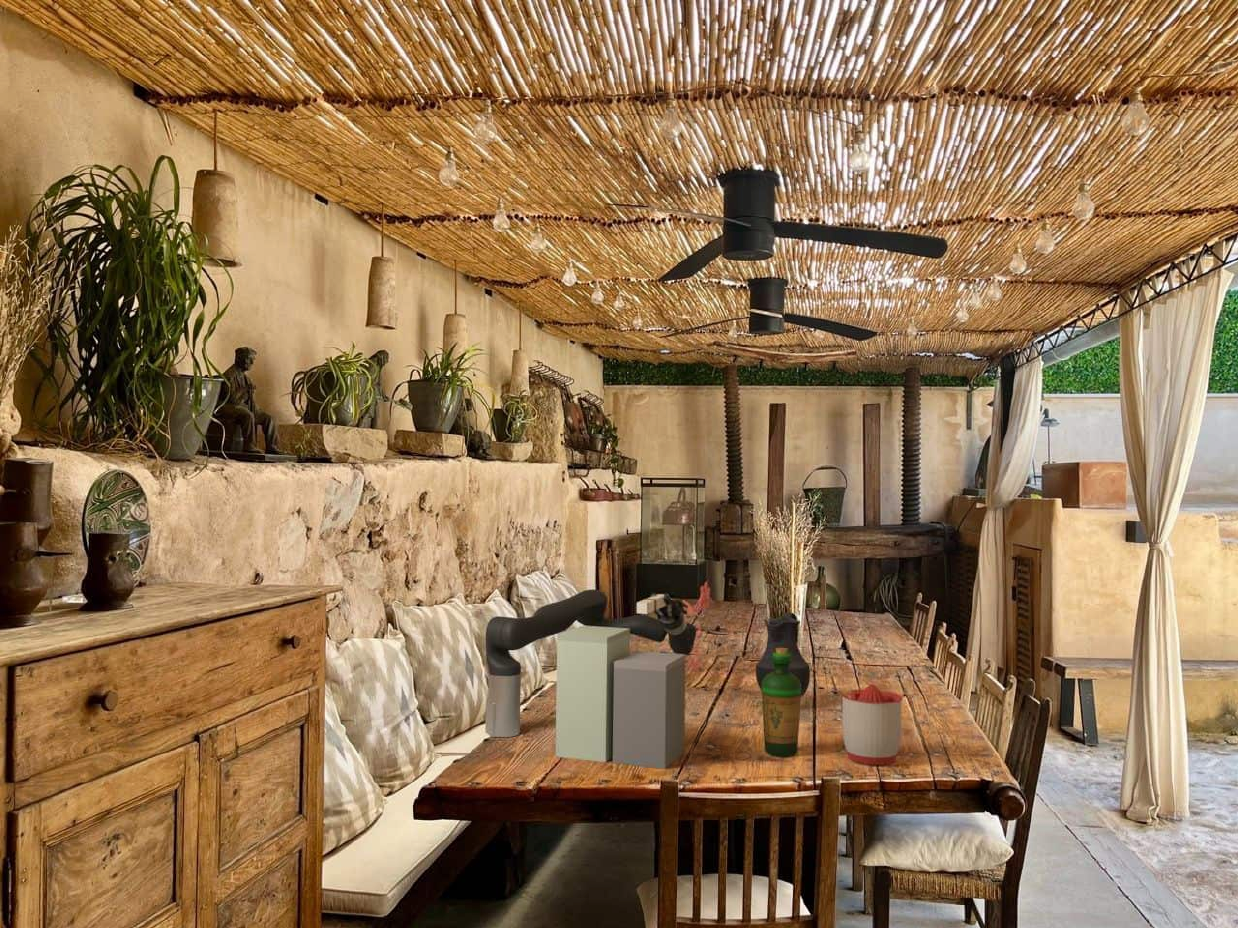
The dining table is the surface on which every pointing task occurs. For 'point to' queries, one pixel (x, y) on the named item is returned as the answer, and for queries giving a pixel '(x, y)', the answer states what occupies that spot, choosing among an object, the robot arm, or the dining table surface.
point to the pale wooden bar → (650, 604)
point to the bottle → (781, 707)
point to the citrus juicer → (871, 725)
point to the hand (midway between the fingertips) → (659, 596)
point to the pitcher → (783, 636)
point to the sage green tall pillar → (587, 690)
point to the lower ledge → (649, 709)
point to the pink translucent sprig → (704, 604)
